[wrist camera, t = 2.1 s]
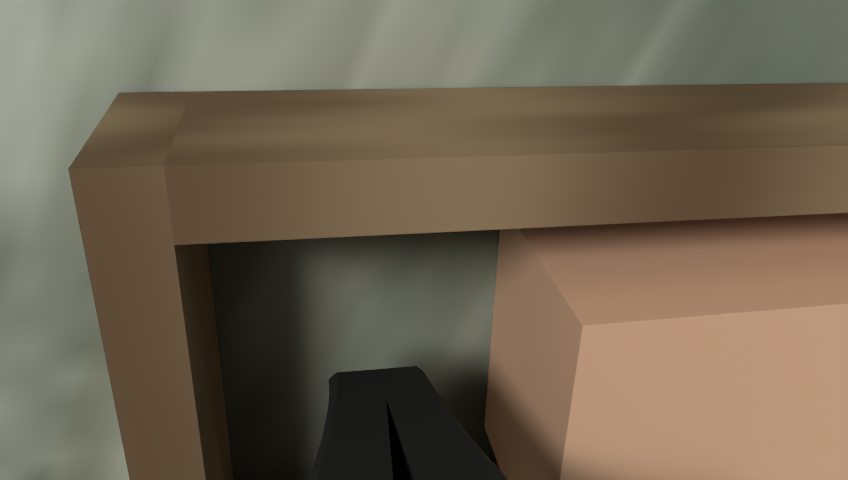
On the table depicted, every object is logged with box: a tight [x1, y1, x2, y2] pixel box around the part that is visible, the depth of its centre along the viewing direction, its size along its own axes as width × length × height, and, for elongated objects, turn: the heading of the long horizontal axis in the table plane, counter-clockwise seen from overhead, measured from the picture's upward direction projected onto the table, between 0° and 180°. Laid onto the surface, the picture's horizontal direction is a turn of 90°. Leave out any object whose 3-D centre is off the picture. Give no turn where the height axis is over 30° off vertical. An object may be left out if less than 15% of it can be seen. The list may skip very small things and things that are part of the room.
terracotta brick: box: [484, 213, 848, 480], centre depth 13 cm, size 8×5×4 cm, turn 89°
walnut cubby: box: [68, 83, 848, 480], centre depth 13 cm, size 15×9×3 cm, turn 88°
